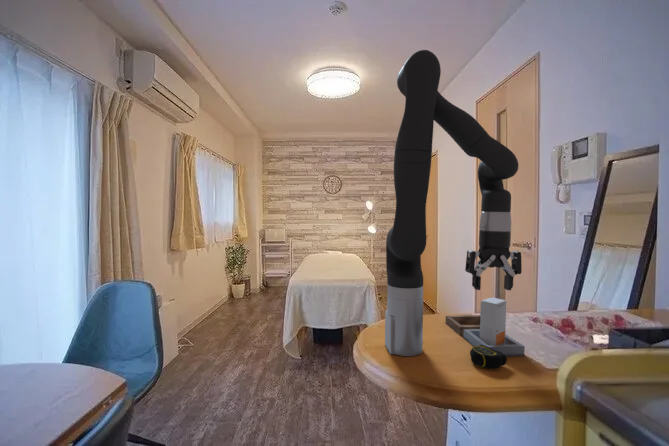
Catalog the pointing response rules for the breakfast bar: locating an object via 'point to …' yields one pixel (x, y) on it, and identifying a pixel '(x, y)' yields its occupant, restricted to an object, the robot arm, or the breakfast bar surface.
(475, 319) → the brown rectangular frame
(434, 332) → the breakfast bar surface
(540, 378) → the breakfast bar surface
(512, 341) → the tray
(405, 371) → the breakfast bar surface
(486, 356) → the tape measure
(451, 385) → the breakfast bar surface
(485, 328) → the skincare box
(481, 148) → the robot arm
